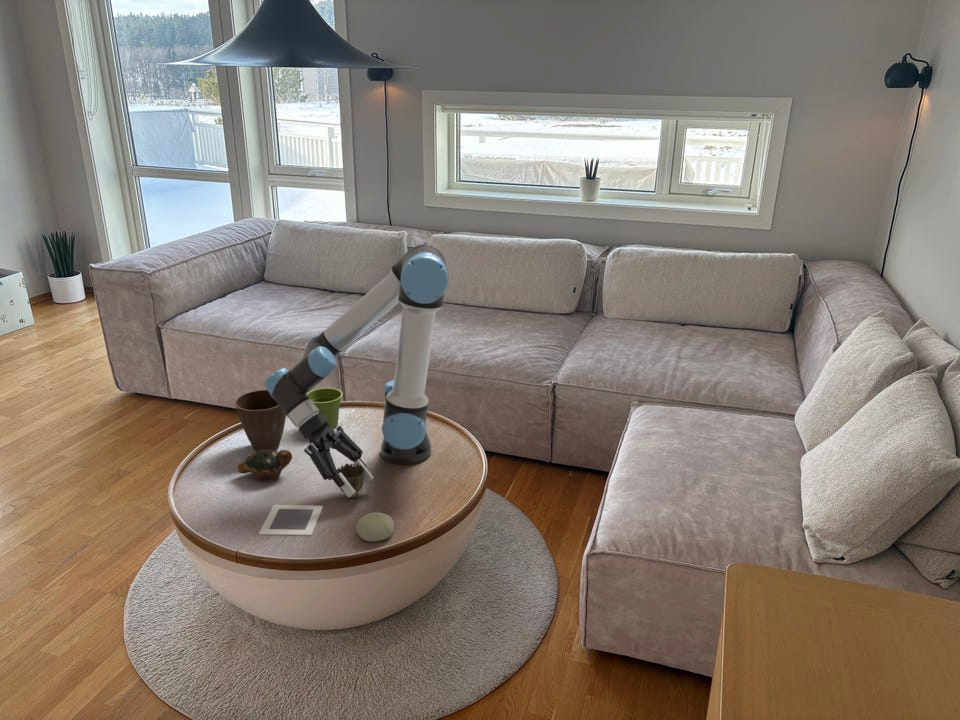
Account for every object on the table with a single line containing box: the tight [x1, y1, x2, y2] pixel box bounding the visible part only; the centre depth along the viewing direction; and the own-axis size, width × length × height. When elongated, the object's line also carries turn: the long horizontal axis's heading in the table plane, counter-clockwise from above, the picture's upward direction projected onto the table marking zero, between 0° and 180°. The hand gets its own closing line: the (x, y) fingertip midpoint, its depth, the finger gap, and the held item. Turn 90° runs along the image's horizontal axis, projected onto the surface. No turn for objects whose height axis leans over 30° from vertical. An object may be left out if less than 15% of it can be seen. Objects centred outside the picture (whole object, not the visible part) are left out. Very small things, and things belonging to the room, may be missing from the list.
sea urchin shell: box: [355, 511, 395, 543], centre depth 176 cm, size 9×8×8 cm
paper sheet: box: [258, 504, 324, 536], centre depth 181 cm, size 13×13×1 cm
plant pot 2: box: [307, 387, 344, 429], centre depth 230 cm, size 12×12×11 cm
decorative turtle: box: [237, 449, 293, 482], centre depth 201 cm, size 10×15×8 cm, turn 103°
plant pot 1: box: [234, 389, 287, 452], centre depth 215 cm, size 15×15×16 cm
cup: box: [337, 463, 365, 499], centre depth 191 cm, size 8×7×8 cm
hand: (361, 487), depth 190 cm, fingers closed on cup, 7 cm apart
